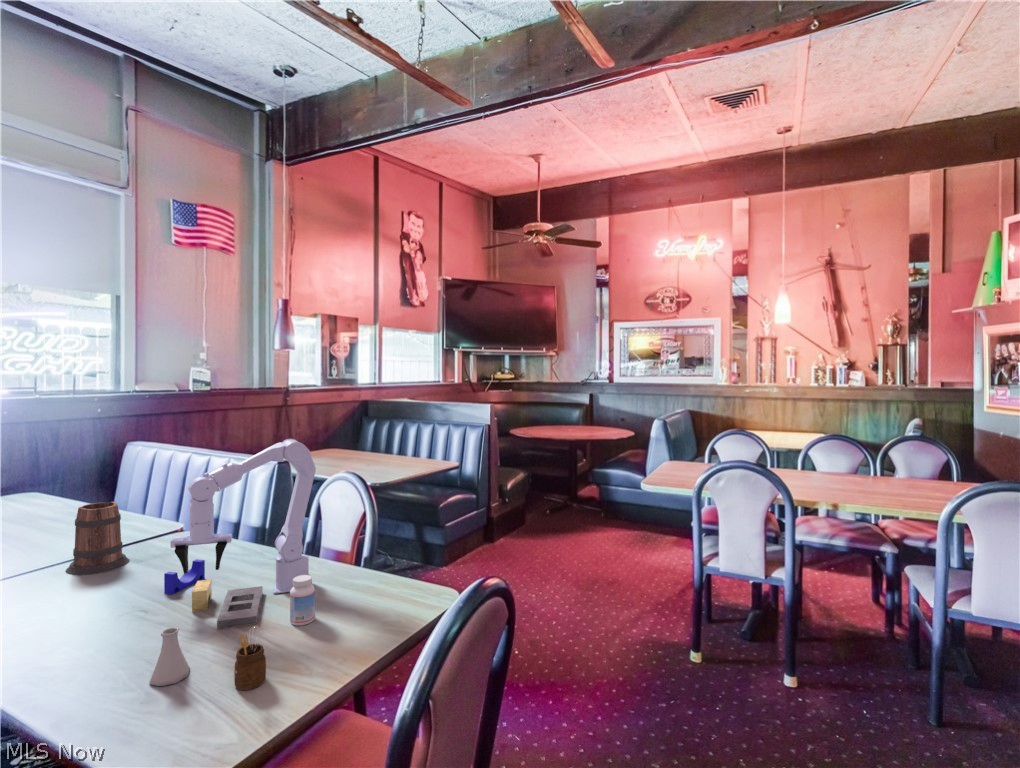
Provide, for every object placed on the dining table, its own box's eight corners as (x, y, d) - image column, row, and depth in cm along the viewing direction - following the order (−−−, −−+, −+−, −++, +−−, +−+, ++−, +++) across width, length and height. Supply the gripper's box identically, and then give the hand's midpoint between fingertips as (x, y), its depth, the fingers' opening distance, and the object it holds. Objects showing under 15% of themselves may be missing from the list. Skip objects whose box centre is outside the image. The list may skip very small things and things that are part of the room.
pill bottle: (319, 617, 141) (320, 575, 141) (303, 628, 136) (304, 584, 135) (301, 614, 143) (301, 572, 143) (284, 624, 138) (284, 580, 137)
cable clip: (192, 577, 167) (192, 558, 167) (204, 579, 166) (204, 560, 166) (159, 593, 156) (159, 573, 155) (173, 595, 155) (173, 574, 155)
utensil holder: (270, 674, 115) (270, 619, 115) (257, 692, 109) (257, 633, 108) (242, 674, 115) (242, 619, 114) (228, 692, 108) (227, 633, 108)
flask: (161, 668, 117) (161, 623, 117) (196, 667, 117) (196, 622, 117) (141, 688, 110) (141, 639, 109) (178, 686, 110) (179, 638, 110)
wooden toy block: (211, 598, 152) (211, 579, 152) (206, 610, 145) (206, 590, 145) (197, 600, 151) (197, 580, 151) (191, 612, 144) (191, 591, 144)
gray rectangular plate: (262, 593, 156) (262, 586, 156) (256, 623, 137) (256, 615, 137) (227, 597, 153) (227, 590, 153) (216, 629, 134) (216, 621, 134)
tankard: (139, 563, 179) (139, 503, 178) (77, 579, 165) (77, 514, 164) (108, 549, 192) (108, 494, 191) (49, 563, 177) (48, 503, 177)
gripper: (233, 515, 154) (233, 562, 154) (174, 519, 149) (174, 568, 149) (229, 522, 147) (229, 571, 147) (168, 526, 142) (168, 577, 142)
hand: (201, 570), depth 148 cm, fingers open, 7 cm apart
